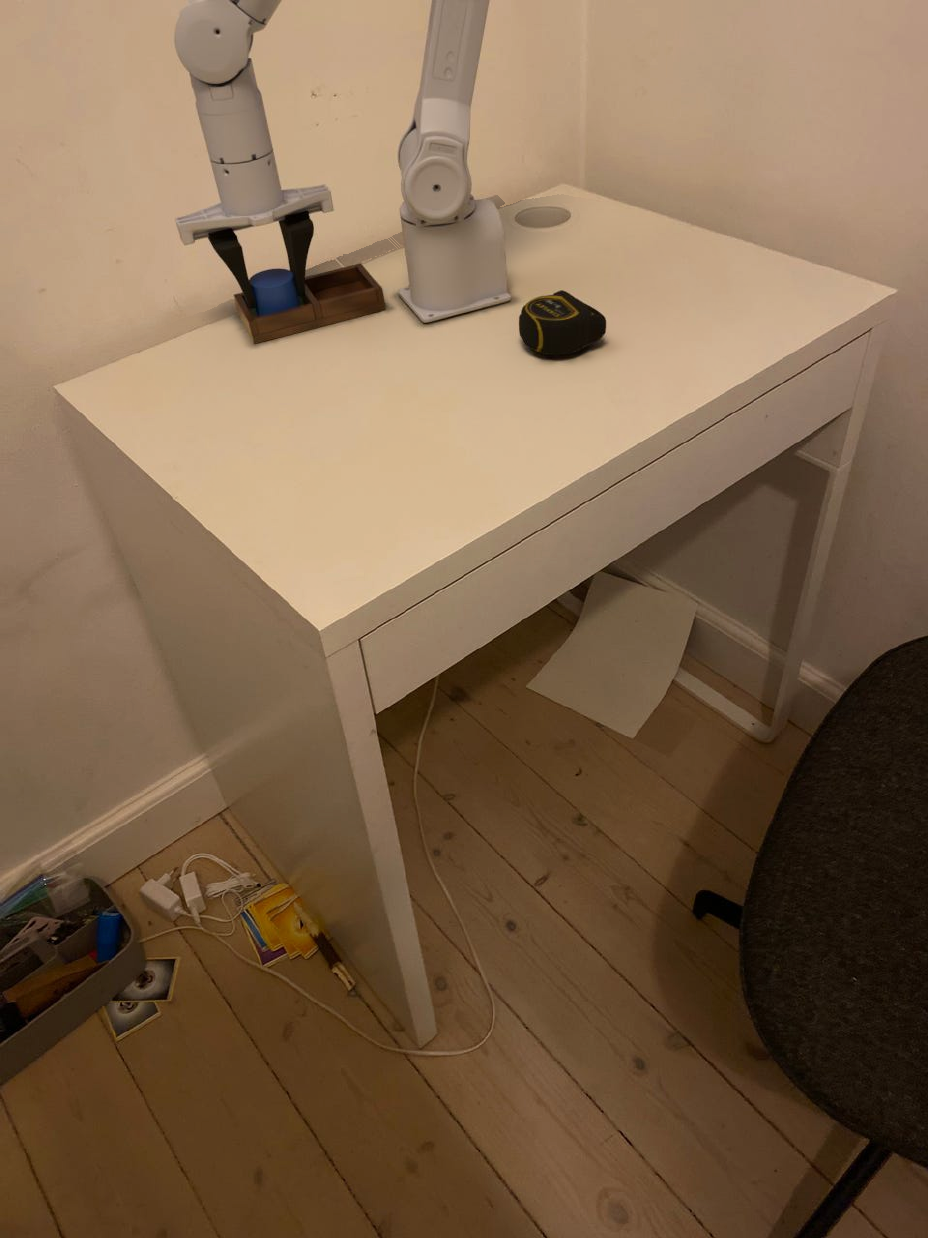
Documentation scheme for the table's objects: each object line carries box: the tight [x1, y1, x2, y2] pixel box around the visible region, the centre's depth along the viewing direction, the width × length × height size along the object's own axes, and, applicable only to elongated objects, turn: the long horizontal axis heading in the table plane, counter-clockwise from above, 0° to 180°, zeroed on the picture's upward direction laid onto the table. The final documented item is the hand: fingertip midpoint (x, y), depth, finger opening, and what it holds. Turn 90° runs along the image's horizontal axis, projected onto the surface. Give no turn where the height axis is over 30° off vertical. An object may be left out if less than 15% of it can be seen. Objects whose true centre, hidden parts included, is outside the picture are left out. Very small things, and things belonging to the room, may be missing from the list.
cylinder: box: [248, 268, 300, 317], centre depth 92 cm, size 4×4×4 cm
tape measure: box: [518, 290, 607, 356], centre depth 84 cm, size 7×7×4 cm
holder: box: [233, 262, 386, 345], centre depth 94 cm, size 14×7×2 cm, turn 112°
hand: (275, 298), depth 93 cm, fingers closed on cylinder, 4 cm apart
